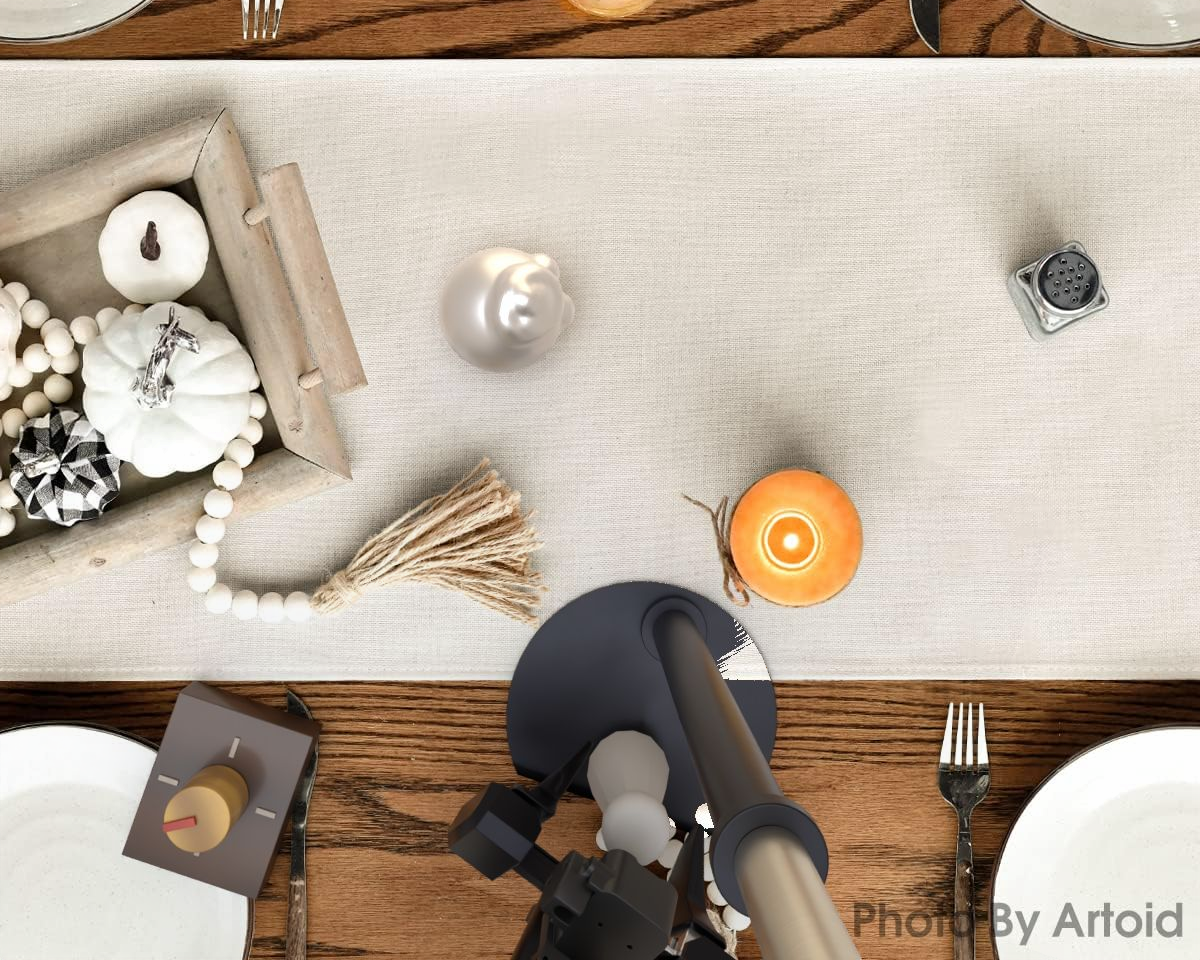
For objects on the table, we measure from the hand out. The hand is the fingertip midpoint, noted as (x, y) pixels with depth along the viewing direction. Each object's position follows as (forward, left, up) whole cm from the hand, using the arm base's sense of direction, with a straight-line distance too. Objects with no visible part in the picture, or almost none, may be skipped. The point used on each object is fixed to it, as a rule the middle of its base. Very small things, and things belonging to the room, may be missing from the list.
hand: (643, 784), depth 69 cm
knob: (-12, +27, -5) cm, 30 cm away
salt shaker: (-1, 0, -7) cm, 8 cm away
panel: (-12, +27, -8) cm, 31 cm away
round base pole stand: (+2, 0, -8) cm, 8 cm away
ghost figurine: (+27, +19, -8) cm, 34 cm away
